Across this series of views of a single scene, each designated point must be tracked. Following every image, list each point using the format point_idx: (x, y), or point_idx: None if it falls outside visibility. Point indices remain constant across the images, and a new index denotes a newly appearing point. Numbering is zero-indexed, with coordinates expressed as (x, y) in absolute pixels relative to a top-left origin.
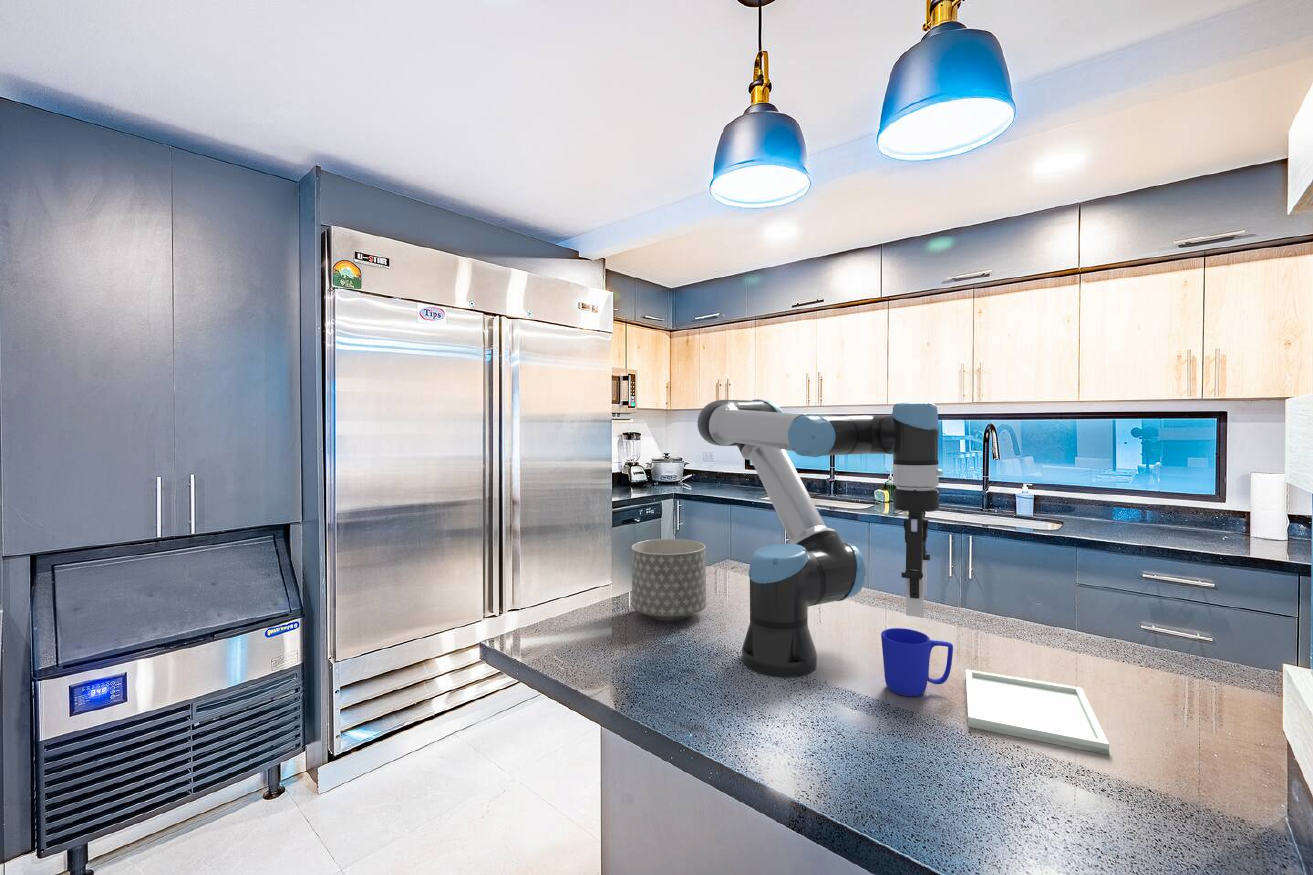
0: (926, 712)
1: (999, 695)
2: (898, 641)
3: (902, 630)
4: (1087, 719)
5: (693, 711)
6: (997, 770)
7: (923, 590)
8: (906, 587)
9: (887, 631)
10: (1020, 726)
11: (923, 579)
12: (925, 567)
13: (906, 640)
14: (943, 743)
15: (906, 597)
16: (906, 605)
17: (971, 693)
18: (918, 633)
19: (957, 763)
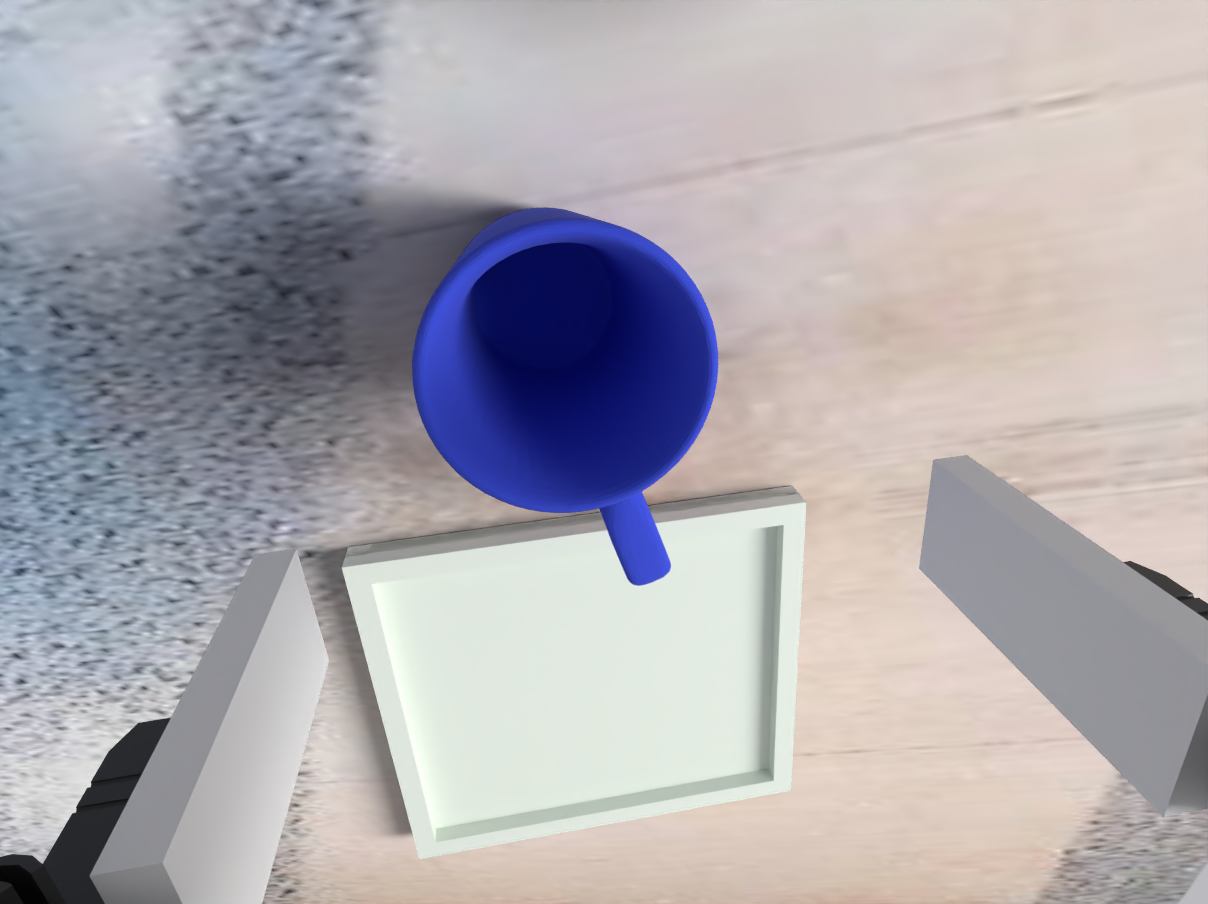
0: (370, 408)
1: (639, 610)
2: (658, 298)
3: (696, 336)
4: (587, 801)
5: None
6: (99, 648)
7: (270, 856)
8: (156, 757)
9: (628, 249)
10: (380, 697)
11: (1013, 639)
12: (1107, 753)
13: (674, 344)
14: (150, 497)
15: (199, 668)
16: (225, 612)
17: (565, 549)
18: (682, 432)
19: (40, 553)
